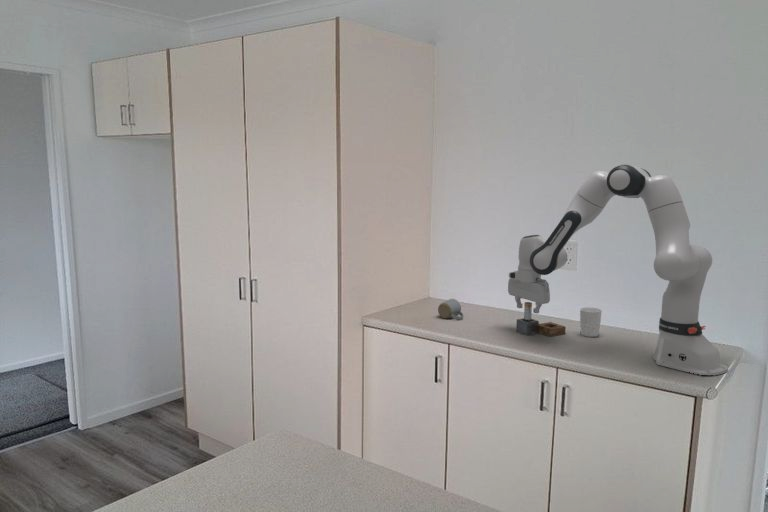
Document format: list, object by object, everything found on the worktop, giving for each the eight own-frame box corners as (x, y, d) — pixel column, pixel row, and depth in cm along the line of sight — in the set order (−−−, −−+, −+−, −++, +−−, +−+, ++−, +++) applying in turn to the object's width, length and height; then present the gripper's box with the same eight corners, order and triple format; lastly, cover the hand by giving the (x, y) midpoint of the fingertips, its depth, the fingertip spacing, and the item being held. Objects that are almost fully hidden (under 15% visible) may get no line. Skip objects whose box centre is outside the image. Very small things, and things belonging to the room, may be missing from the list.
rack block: (565, 334, 231) (565, 326, 230) (550, 336, 227) (550, 329, 227) (550, 329, 238) (550, 322, 237) (535, 331, 234) (535, 324, 233)
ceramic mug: (436, 317, 256) (436, 300, 255) (446, 314, 263) (447, 297, 261) (457, 322, 250) (457, 304, 249) (467, 318, 256) (467, 301, 255)
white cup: (577, 335, 229) (578, 310, 227) (580, 330, 236) (582, 306, 234) (598, 338, 225) (600, 312, 224) (601, 333, 232) (603, 308, 231)
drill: (532, 332, 233) (533, 303, 231) (526, 333, 231) (528, 304, 229) (527, 331, 235) (528, 301, 233) (521, 332, 234) (522, 302, 232)
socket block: (538, 333, 232) (538, 320, 231) (526, 335, 229) (527, 322, 228) (527, 329, 237) (528, 317, 236) (516, 331, 234) (516, 319, 234)
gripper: (554, 279, 222) (552, 315, 224) (517, 271, 240) (516, 304, 242) (542, 281, 219) (540, 317, 221) (505, 272, 237) (504, 306, 239)
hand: (527, 310), depth 232 cm, fingers open, 8 cm apart
